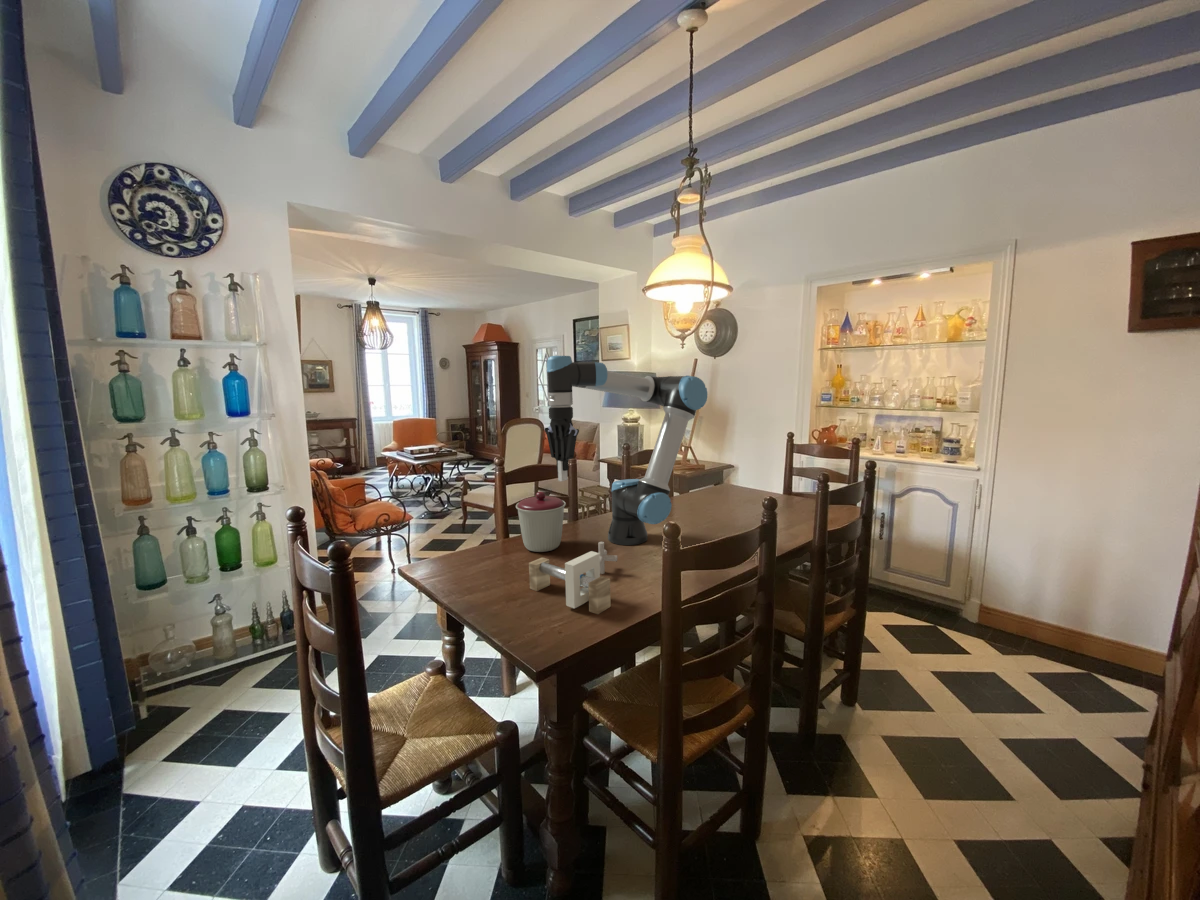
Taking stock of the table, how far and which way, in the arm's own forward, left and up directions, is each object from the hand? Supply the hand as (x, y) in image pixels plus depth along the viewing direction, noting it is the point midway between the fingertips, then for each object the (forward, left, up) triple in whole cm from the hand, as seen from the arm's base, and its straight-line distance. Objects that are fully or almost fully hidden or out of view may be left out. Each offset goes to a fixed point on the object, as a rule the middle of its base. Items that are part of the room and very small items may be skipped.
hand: (562, 480), depth 152 cm
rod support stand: (+15, +15, -29) cm, 36 cm away
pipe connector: (-4, +12, -30) cm, 32 cm away
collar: (+15, +21, -28) cm, 38 cm away
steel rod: (+15, +15, -25) cm, 32 cm away
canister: (-9, -20, -30) cm, 37 cm away
